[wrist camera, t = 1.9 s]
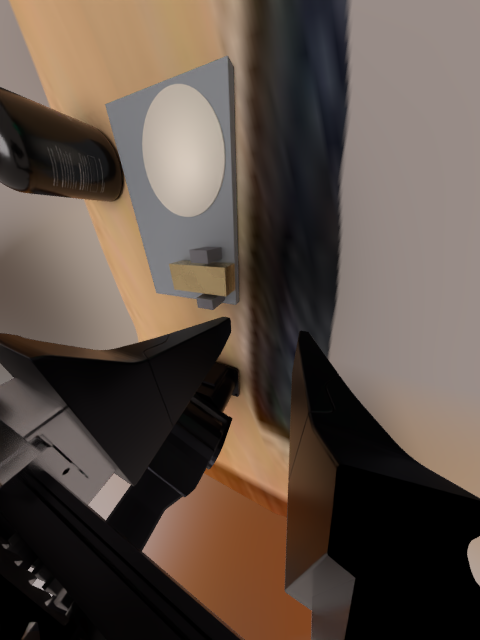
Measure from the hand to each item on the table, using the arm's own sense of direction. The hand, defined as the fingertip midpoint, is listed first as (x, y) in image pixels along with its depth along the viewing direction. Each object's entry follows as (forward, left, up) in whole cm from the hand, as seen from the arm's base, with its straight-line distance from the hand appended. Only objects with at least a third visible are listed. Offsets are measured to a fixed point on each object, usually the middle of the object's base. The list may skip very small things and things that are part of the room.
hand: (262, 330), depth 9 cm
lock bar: (0, +10, -10) cm, 14 cm away
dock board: (+6, +13, -11) cm, 18 cm away
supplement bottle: (+11, +24, -11) cm, 28 cm away
